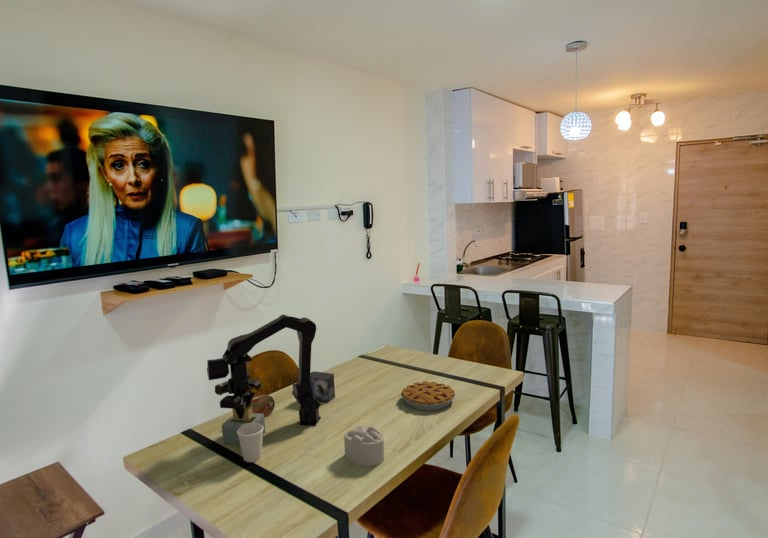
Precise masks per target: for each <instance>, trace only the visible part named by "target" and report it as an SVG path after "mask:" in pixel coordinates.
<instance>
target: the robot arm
mask: <svg viewBox="0 0 768 538" xmlns="http://www.w3.org/2000/svg"><path fill="white" fill-rule="evenodd" d="M286 328H287V329H291V330H294V331H296V334H297V338H298V343H299V344H298V345H299V347H298V348H299V349H298V374H297V381H296V383H292V392H291V394H292V396H293V397H294V399H295V400H296V402H297V403H298V404H299V405H300V407H299V410H298V417H299V423H298V425H302V426H316V425H317V424H318V423H319V421H320V420H321V418H322V417H321V416H320V409H319V408H320V405H321V404H320V401H317V400H316V398H315V397H314V396H313V390H312V386H311V383H310V373H311V365H312V364H311V363H312V343H313V341H314V340H315V337H316V333H317V324H316V323H315V322H314V321H312V320H311V319H310V318H307V317H301V318H300V317H295V316H289V315H287V314H281V315H279V316H278V317H277V318H275V319H273V320H271V321H270V322H268V323H266V324H264V325H263V326H261V327H258V328H257V329H255V330H253V331H251V332H249V333H245V334H241V335H237V336H235V337H232V338H231V339H229V341H228V342H227V348H226V350H225V351H224V353H223V354H222V357H221V358H216V359H207V365H206V366H207V367H206V373H207V380H208V381H214V380H218V379H224V378H227V376H228V375H230V378H229V379H227V381H226V380H225V381H224V382H221V383H219V384H216V385H215V386H214V393H215V394H216V395H217V396H222V395H223V394H227V393H228V394H229V395H226V396H225V397H223V398H222V399H221V400H220V401H219V408H220V409H231V410H232V409H235V411H236V413H237V415H238V417H239V419H242V418H243V415H244V410H245V406H250V405H251V402H252V400H253V398H255V395H256V392H252V388H254V390H255V391H258V390H260V389H261V388H262V384H261V382H260V381H259V380H258V379H256V380H255V379H251V378H252V377H251V374H249V371H248V362H252V361H253V360H254V359H253V357H252V356H251V355H249V354H248V353H249V352H250V351H252V349H253V348H254V347H255V346H256V345H258V344H259V343H261V342H262V341H264V340H266V339H268V338H270V337H271V336H274V335H275V334H277V333H278V332H280V331H282V330H284V329H286ZM232 394H233V395H232Z"/></svg>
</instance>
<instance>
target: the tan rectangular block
mask: <svg viewBox="0 0 768 538" xmlns="http://www.w3.org/2000/svg"><path fill="white" fill-rule="evenodd" d="M231 410H232V415H233V421H234V422H245V423H250V422H251V421H252V420H253V410H252V406H245V410H244V415H243V418H242V419H239V417H238V415H237V413H236V411H235V409H231Z"/></svg>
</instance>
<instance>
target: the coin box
mask: <svg viewBox="0 0 768 538" xmlns="http://www.w3.org/2000/svg"><path fill="white" fill-rule="evenodd" d="M265 421H266V420H265V417H264V414H259V413H253V420H252V421H251V422H250V423H245V422H234V421H233V414H232V415H231V416H229V418H228V419H226V420H225V421H224V422H223V423H222V424H221V431H222V443H223V445H232V444H233V446H241V445H240V441H239V437H238V434H237V430H238V429H239V428H240V427H242V426H244V425H247V424H252V423H257V424H261V425H262V426H263V427H264V429H263V435H264V434H265V433H266V424H265Z"/></svg>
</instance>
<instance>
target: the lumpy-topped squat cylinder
mask: <svg viewBox="0 0 768 538" xmlns="http://www.w3.org/2000/svg"><path fill="white" fill-rule="evenodd" d="M343 440H344V457H345V459H347V460H348V461H350V462H352V463H353V464H356V465H359V466H365V467H367V466H368V467H370V466H371V467H372V466H373V467H374V466H378V465H380V464H383V462H385V441H384V436H383V434H382V432H381V431H379V430H378V429H377V427H376V426H373V425H370V426H366V425H363V426H362V425H358V426H356V427H355V428H352V429H350V430H349V431H347V432H346V433H344V435H343Z"/></svg>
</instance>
